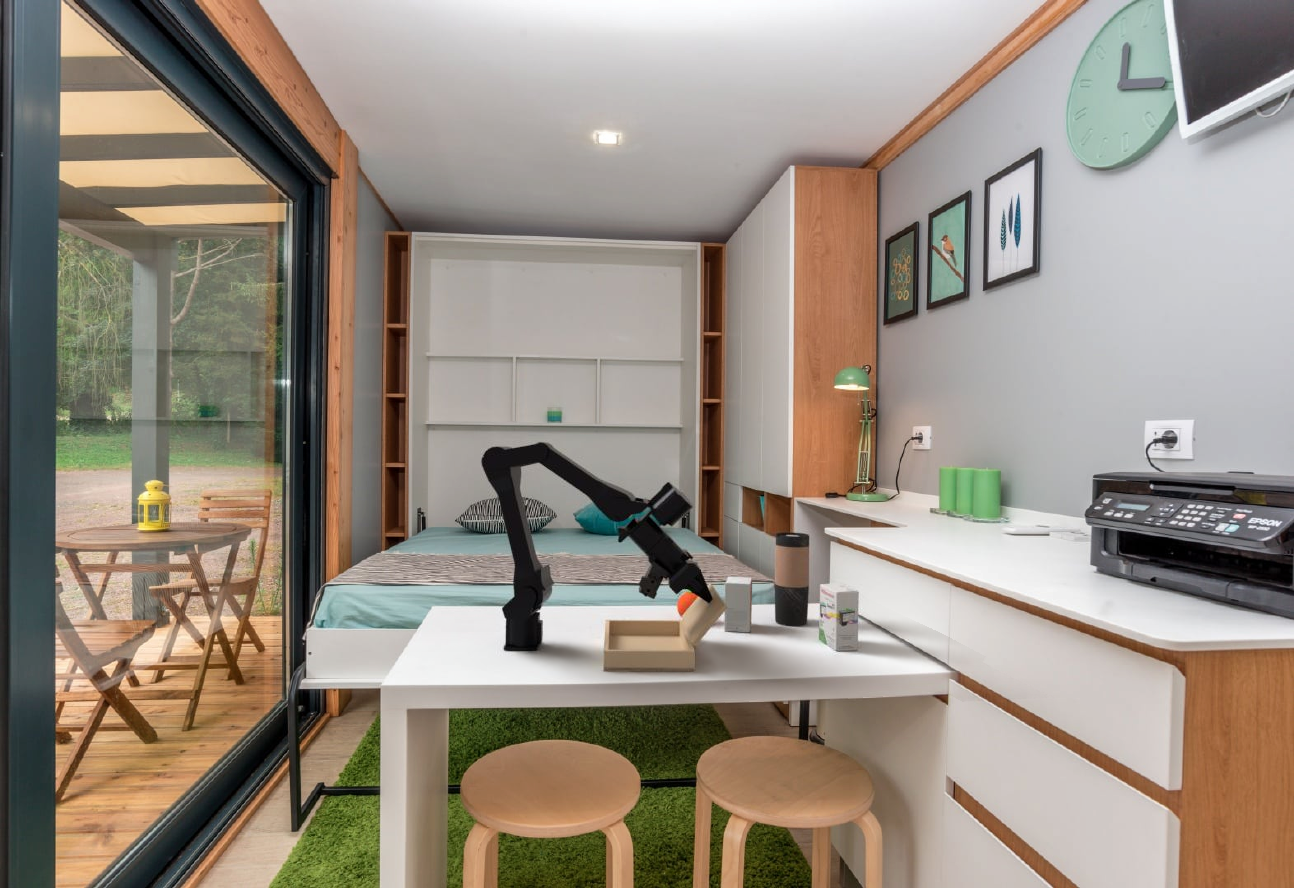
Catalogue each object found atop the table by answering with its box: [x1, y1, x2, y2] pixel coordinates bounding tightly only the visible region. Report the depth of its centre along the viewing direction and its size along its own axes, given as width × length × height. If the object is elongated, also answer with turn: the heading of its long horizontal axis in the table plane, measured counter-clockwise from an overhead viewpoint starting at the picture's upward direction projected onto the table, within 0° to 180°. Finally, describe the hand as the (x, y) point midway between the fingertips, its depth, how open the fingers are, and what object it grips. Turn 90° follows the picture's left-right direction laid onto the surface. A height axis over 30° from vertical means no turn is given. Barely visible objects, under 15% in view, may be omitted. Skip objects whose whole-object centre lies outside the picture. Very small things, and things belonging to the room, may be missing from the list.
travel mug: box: [774, 531, 810, 627], centre depth 159 cm, size 8×8×20 cm
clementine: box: [676, 590, 698, 619], centre depth 158 cm, size 8×7×7 cm
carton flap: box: [680, 582, 728, 647], centre depth 134 cm, size 1×20×9 cm
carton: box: [602, 619, 696, 672], centre depth 134 cm, size 16×22×4 cm
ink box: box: [818, 582, 860, 652], centre depth 141 cm, size 8×5×12 cm, turn 9°
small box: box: [723, 576, 753, 633], centre depth 153 cm, size 8×6×10 cm
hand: (711, 601), depth 134 cm, fingers closed, pressing on carton flap
